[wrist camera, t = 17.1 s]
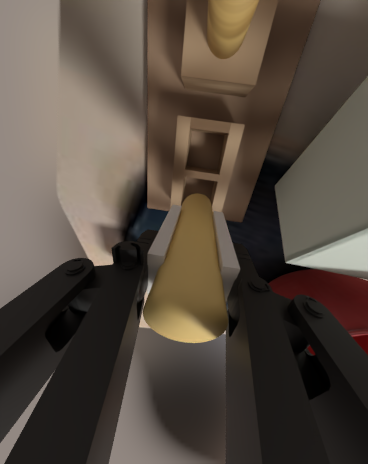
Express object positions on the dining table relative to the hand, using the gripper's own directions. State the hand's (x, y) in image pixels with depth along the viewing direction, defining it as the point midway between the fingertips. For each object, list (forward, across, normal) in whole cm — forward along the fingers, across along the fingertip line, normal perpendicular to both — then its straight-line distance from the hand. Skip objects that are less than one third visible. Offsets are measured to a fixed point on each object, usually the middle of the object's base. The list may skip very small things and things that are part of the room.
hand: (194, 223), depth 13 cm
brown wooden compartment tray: (+13, 0, +10) cm, 16 cm away
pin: (+4, 0, 0) cm, 4 cm away
